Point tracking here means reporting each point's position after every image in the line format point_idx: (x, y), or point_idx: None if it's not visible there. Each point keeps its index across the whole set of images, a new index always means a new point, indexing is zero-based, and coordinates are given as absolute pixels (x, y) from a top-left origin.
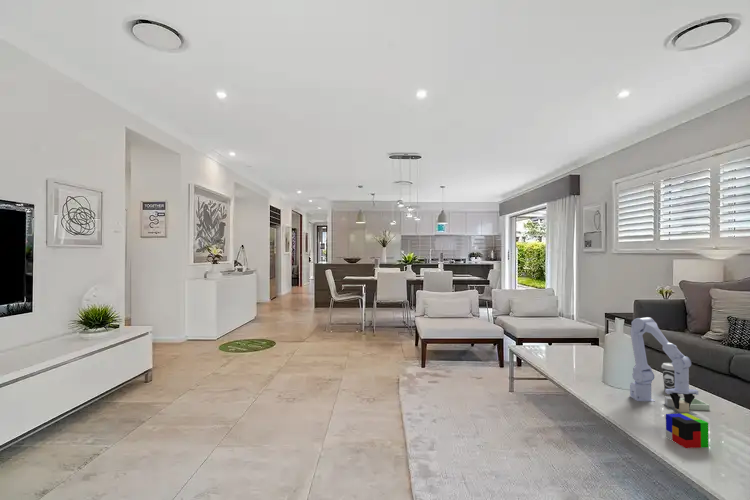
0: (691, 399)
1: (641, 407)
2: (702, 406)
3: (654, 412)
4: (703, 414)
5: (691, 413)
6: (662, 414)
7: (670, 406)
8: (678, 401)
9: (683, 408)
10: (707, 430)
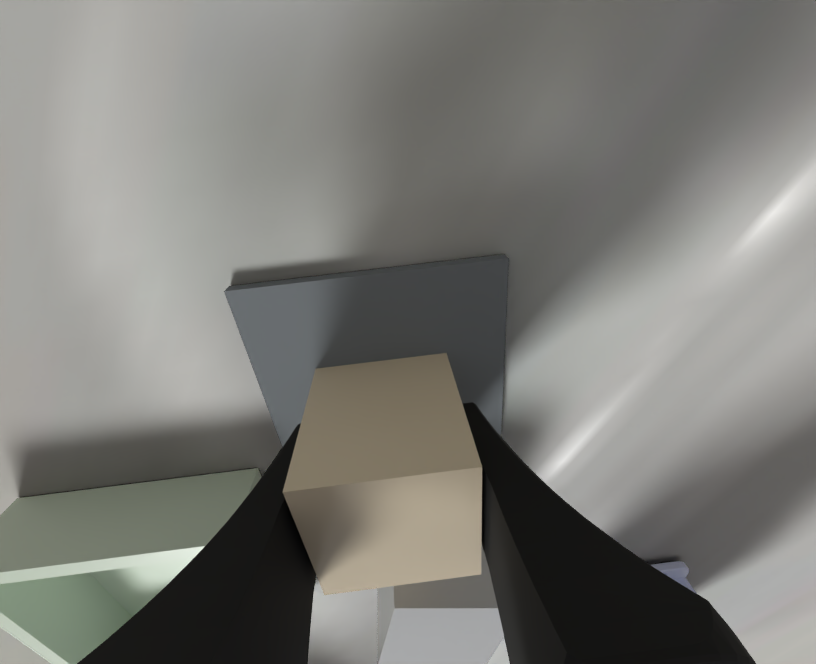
0: (183, 610)
1: (791, 434)
2: (62, 540)
3: (797, 303)
4: (118, 367)
5: (295, 341)
6: (754, 242)
7: None
8: (517, 505)
9: (402, 397)
10: None
